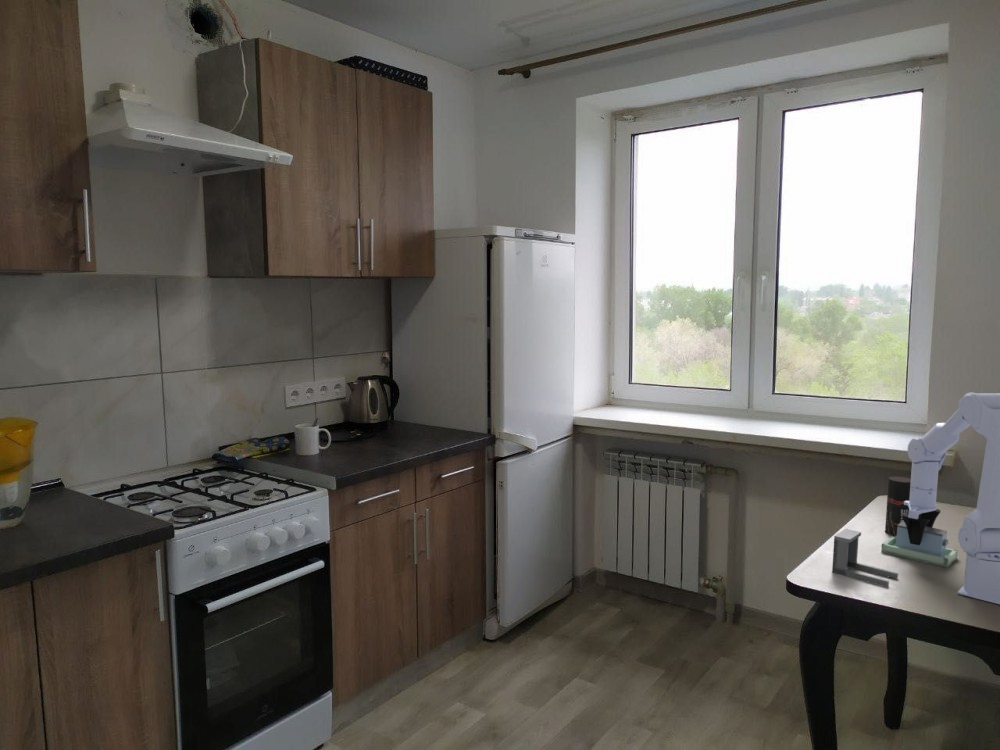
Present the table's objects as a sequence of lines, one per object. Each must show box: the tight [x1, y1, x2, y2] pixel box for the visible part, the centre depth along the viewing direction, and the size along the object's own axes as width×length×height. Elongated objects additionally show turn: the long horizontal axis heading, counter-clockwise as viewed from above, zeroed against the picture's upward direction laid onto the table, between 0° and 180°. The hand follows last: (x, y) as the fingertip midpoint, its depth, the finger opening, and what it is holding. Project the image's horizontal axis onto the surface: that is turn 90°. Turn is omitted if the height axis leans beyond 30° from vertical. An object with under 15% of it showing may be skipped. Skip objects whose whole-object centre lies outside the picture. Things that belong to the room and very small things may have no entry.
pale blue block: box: [896, 521, 949, 558], centre depth 180 cm, size 11×4×6 cm, turn 45°
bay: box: [831, 528, 899, 588], centre depth 168 cm, size 12×7×9 cm, turn 45°
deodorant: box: [884, 476, 911, 537], centre depth 196 cm, size 6×6×15 cm
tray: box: [880, 535, 958, 569], centre depth 181 cm, size 15×9×2 cm, turn 45°
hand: (919, 540), depth 180 cm, fingers open, 7 cm apart
